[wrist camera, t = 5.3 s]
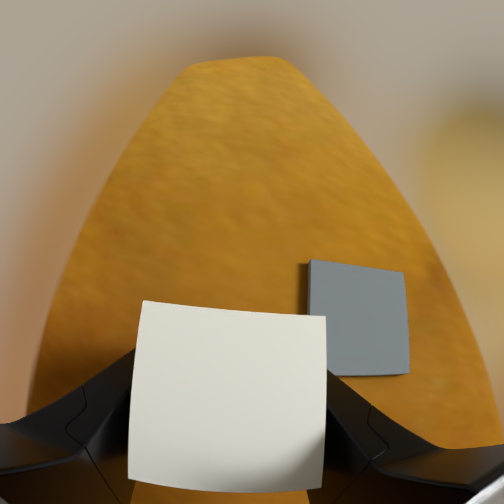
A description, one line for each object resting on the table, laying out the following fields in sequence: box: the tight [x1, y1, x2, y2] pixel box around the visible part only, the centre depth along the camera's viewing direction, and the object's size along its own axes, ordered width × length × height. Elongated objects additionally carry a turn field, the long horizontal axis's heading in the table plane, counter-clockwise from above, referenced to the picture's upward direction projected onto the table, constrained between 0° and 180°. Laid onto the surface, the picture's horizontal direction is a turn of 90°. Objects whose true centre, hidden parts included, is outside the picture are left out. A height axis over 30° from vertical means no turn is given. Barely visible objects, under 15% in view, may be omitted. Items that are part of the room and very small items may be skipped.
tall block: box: [128, 300, 327, 493], centre depth 9 cm, size 4×4×10 cm
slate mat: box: [307, 259, 410, 376], centre depth 16 cm, size 7×7×1 cm
